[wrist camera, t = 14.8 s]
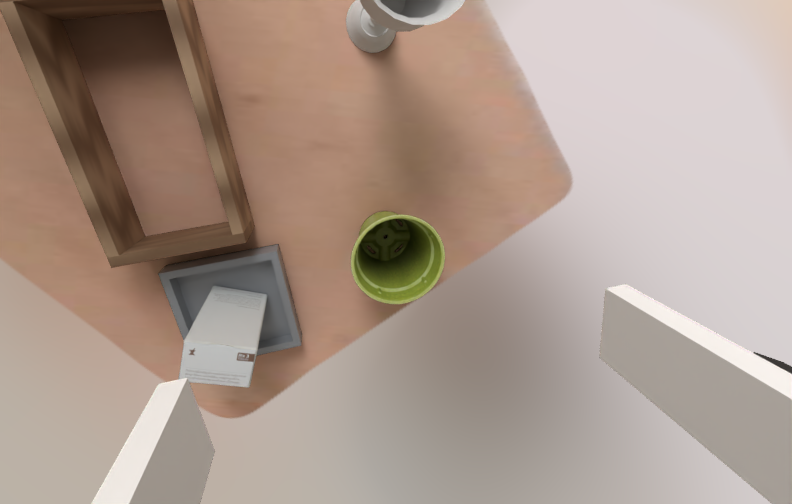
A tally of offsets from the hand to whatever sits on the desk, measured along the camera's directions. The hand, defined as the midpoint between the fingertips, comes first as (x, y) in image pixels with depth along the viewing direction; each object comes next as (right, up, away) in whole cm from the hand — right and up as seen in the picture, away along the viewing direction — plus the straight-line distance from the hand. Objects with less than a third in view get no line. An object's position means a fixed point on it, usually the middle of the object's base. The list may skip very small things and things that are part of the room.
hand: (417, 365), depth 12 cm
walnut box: (-24, +15, +26) cm, 38 cm away
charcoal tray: (-19, -2, +33) cm, 38 cm away
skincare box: (-19, -2, +33) cm, 38 cm away
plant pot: (-2, +6, +34) cm, 35 cm away
